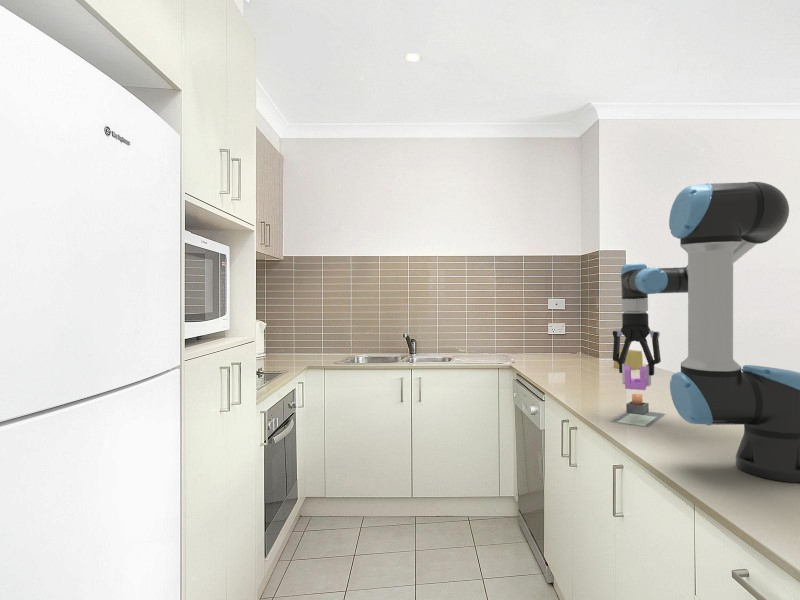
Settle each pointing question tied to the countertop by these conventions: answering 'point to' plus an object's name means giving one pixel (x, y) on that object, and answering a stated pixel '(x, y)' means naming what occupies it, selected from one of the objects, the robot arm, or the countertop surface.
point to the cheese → (631, 359)
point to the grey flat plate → (639, 419)
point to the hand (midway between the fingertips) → (636, 384)
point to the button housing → (637, 408)
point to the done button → (637, 399)
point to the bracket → (635, 379)
